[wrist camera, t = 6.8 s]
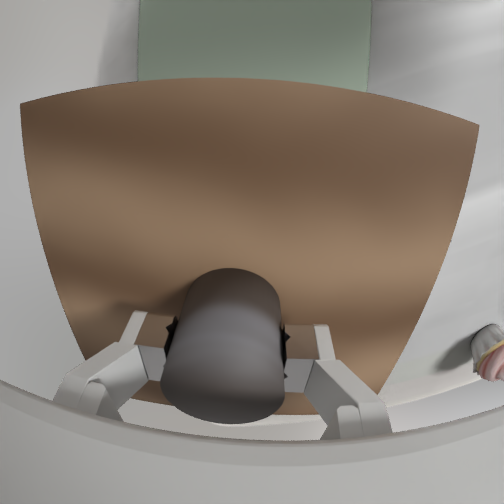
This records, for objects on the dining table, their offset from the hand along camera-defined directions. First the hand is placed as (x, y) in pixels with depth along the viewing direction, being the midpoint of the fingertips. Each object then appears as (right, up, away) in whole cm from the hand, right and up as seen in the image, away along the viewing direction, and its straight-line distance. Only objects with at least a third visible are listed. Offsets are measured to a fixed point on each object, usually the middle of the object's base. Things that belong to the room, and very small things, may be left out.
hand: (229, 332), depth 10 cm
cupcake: (+40, -12, +29) cm, 51 cm away
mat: (+1, +19, +12) cm, 23 cm away
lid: (0, +1, +2) cm, 2 cm away
